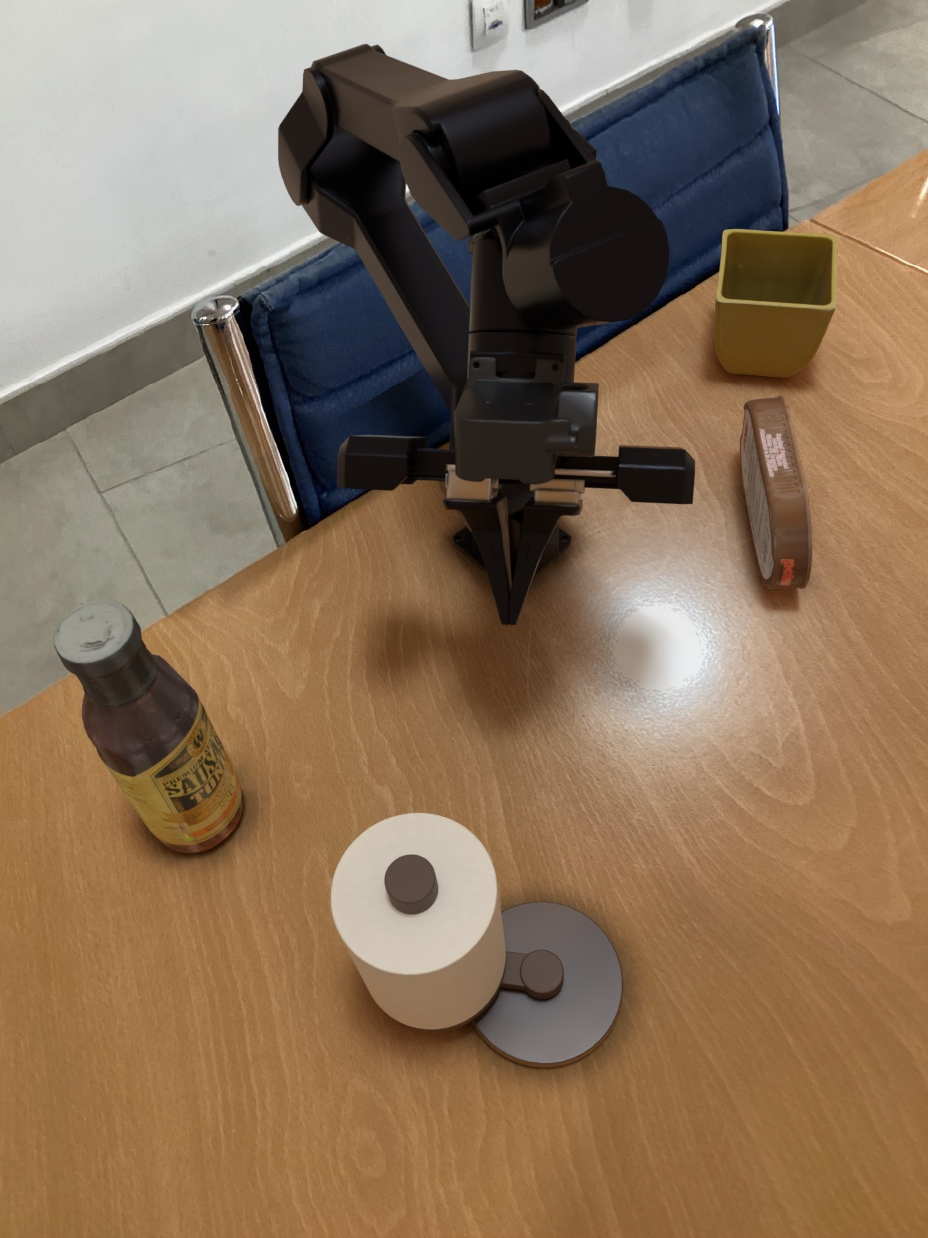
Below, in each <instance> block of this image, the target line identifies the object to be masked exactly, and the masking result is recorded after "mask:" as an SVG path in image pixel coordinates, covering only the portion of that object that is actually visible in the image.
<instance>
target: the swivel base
mask: <svg viewBox="0 0 928 1238" xmlns="http://www.w3.org/2000/svg"><path fill="white" fill-rule="evenodd" d="M501 916H502V924H503V932H504V939H505V947H506V951H508V952H516V953H523V954H529V953H531V952H533V951H536V950H547V951H550V952H552V953H554V954H555V955H556V956H557V957H558V958H559V959H560V960H561V962H562V965H563V969H564V981H563V985H562V987H561V989H560V990H559V992H558V993H557V994H556V995H554V996H553V997H550V998H547V999H538V998H535V997H533V996H531V995H530V994H528V993H527V992H526V991H525V990H519V989H511V988H504V987H500V989H499V991H498V992H497V994H496V996H495V998H494V999H493V1001H492V1002H491V1003H490V1005H489V1006H488V1007H487V1008H486V1009H485V1010H484V1011H483V1012H482V1013H481V1014H480V1015H479V1016H477V1017H476V1018H475V1019H473V1020H472V1021H471V1023H472V1025H473V1026H474V1028H475V1030H476V1032H477V1033H478V1034H479V1036H480V1037H481V1038H482V1040H483V1041H484V1042H485V1043H486V1044H487V1045H488V1046H489V1047H490V1048H491V1049H492V1050H494V1051H495V1052H496V1053H498V1054H499V1055H500V1056H502V1057H504V1058H506V1059H507V1060H509V1061H512V1062H514V1063H516V1064H519V1065H523V1066H527V1067H531V1068H539V1069H551V1068H559V1067H564V1066H568V1065H571V1064H573V1063H575V1062H578V1061H579V1060H582V1059H584V1058H585V1057H586V1056H588V1055H590V1054H592V1052H594V1051H595V1050H596V1049H597V1048H598V1047H599V1046H600V1045H601V1044H602V1043H603V1042H604V1041H605V1040H606V1039H607V1037H608V1035H609V1034H610V1033H611V1031H612V1030H613V1028H614V1026H615V1024H616V1022H617V1019H618V1016H619V1014H620V1013H619V1012H620V1010H621V1006H622V1001H623V994H624V977H623V976H624V975H623V969H622V963H621V960H620V958H619V955H618V952H617V950H616V948H615V946H614V944H613V942H612V940H611V939H610V937H609V936H608V934H607V933H606V931H604V929H603V928H602V927H601V926H600V925H599V924H598V923H597V922H595V920H594V919H592V918H591V917H589V916H588V915H587V914H585V913H584V912H582V911H580V910H578V909H576V908H574V907H572V906H569V905H566V904H563V903H559V902H554V901H545V900H542V901H539V900H538V901H529V902H523V903H519V904H515V905H513V906H511V907H509V908H506V909H504V910H503V911H502V910H501Z"/></svg>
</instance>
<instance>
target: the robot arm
mask: <svg viewBox="0 0 928 1238" xmlns="http://www.w3.org/2000/svg"><path fill="white" fill-rule="evenodd" d="M301 87H302V91H301V93H300V94H299V96H298V97H297V98H296V100H295V101H294V103H293V104H292V106H291V107H290V109H289V111H288V112H287V113H286V115H285V116H284V118H283V119H282V121H281V122H280V123H279V126H278V127H277V128H278V129H277V162H278V168H279V172H280V176H281V179H282V181H283V184H284V187H285V189H286V191H287V194H288V195H289V197H290V200H291V201H292V202H293V204H294V205H295V206H297V207H300V206H301V207H302V209H303V210H304V211H305V213H306V214H307V216H308V217H309V219H310V220H311V222H312V223H313V225H314V227H315V228H316V230H317V231H318V232H319V234H321V235H323V236H325V237H327V238H330V239H331V240H334V241H336V242H339V243H340V244H343V245H345V246H347V247H348V248H351V249H352V250H355V251H356V253H357V254H358V257H359V258H360V260H361V261H362V263H363V265H364V267H365V268H366V270H367V272H368V274H369V275H370V277H371V278H372V280H373V282H374V284H375V285H376V287H377V290H379V292H380V294H381V296H382V298H383V299H384V301H385V302H386V304H387V306H388V308H389V309H390V312H391V313H392V315H393V316H394V318H395V320H396V321H397V323H398V325H399V326H400V328H401V330H402V331H403V333H404V335H405V337H406V339H407V340H408V342H409V343H410V345H411V347H412V349H413V351H414V352H415V354H416V356H417V358H418V359H419V361H420V362H421V364H422V366H423V368H424V369H425V371H426V373H427V374H428V376H429V378H430V380H431V382H432V383H433V385H434V386H435V388H436V390H437V392H438V393H439V395H440V397H441V398H442V400H443V402H444V404H445V406H446V407H447V409H448V411H449V413H450V420H449V421H450V423H449V424H450V425H449V426H450V427H449V440H448V441H449V443H448V448H428V446H427V445H428V444H427V439H426V438H427V437H426V436H411V435H409V436H408V435H407V436H406V435H386V434H383V435H381V434H358V435H349V436H348V437H346V439H345V440H344V441H343V442H342V443H341V445H340V446H339V450H338V452H337V453H338V454H337V461H336V462H337V464H336V465H337V466H336V467H337V469H336V471H337V473H336V488H339V489H346V490H366V491H367V490H368V491H387V492H388V491H391V492H393V491H395V490H396V489H397V488H398V487H400V485H414V484H415V483H416V482H417V481H429V482H430V481H431V482H438V485H439V488H440V491H441V492H442V494H443V496H444V497H445V498H443V499H442V507H443V509H444V510H448V511H455V512H456V514H457V515H458V516H459V518H460V519H461V520H462V522H463V524H465V526H464V527H463V528H461V529H460V530H458V531H457V532H456V533H454V535H452V537H451V538H452V545H454V546H455V547H456V548H457V549H458V550H459V551H460V552H461V553H463V554H464V555H465V556H466V557H467V558H468V559H470V561H472V562H473V563H474V564H475V565H476V566H478V567H479V568H480V569H481V570H483V571H484V572H485V573H486V574H487V575H486V576H487V579H488V583H489V584H490V585H489V586H490V588H491V592H492V595H493V599H494V603H495V608H496V610H497V614H498V617H499V620H500V624H501V626H512V627H516V626H517V624H518V621H519V619H520V616H521V613H522V610H523V608H524V605H525V601H526V599H527V596H528V593H529V591H530V589H531V585H532V583H533V579H534V577H535V575H536V574H537V573H539V572H540V571H541V570H543V569H544V568H545V567H546V566H548V565H549V564H551V563H552V562H553V561H555V559H557V558H558V557H559V556H560V554H561V553H562V552H564V551H565V550H566V549H567V548H568V547H570V546H571V545H572V536H571V535H570V533H568V532H567V531H565V530H564V529H563V528H561V527H560V525H559V524H560V523H559V522H560V519H561V518H562V517H565V516H568V517H578V516H580V515H582V514H581V513H582V510H583V507H584V499H582V498H581V495H584V494H585V492H586V489H604V490H620V491H621V493H623V494H624V496H626V497H627V499H628V500H629V501H630V502H631V503H643V504H644V503H646V504H664V505H666V504H668V505H693V504H694V492H695V482H696V481H695V479H696V460H695V459H694V458H693V457H692V455H691V454H690V453H689V452H688V451H687V450H686V448H682V447H680V446H679V447H678V446H657V445H629V444H618V453H617V456H616V455H614V456H613V455H595V454H596V445H597V444H596V443H597V431H598V412H599V411H598V410H599V392H600V391H599V389H600V383H598V382H578V381H577V382H575V371H576V354H577V353H576V352H577V334H578V329H579V328H585V327H586V328H587V327H592V326H599V325H605V324H612V323H617V322H623V321H628V320H630V319H633V318H635V317H637V316H639V315H640V314H641V313H642V312H644V311H645V310H646V309H648V308H649V307H650V306H651V304H653V302H654V301H655V300H656V298H657V297H658V296H659V294H660V293H661V290H662V288H663V286H664V284H665V282H666V278H667V275H668V271H669V268H670V244H669V239H668V233H667V230H666V228H665V225H664V223H663V221H662V219H659V217H658V216H657V215H656V213H655V211H654V210H653V209H652V207H651V206H650V205H649V204H647V202H646V201H645V200H644V199H642V198H641V197H640V196H639V195H637V194H635V193H633V192H632V191H630V190H628V189H624V188H620V187H616V186H609V183H608V180H607V175H606V174H607V173H606V172H605V169H604V168H603V164H602V162H601V161H600V160H599V159H597V154H598V153H597V152H598V151H597V149H596V148H595V147H594V146H593V145H592V144H591V143H590V142H589V141H588V140H586V138H585V137H584V136H583V135H582V134H580V133H579V131H577V130H576V128H575V127H574V126H572V124H571V123H570V121H569V119H567V118H566V117H565V115H564V114H563V113H562V112H561V110H560V109H559V107H558V106H557V105H556V103H555V102H554V101H553V100H552V98H551V97H550V96H549V94H548V93H547V92H546V91H544V89H541V87H540V85H539V84H538V83H537V81H536V80H535V79H534V78H533V77H531V76H530V75H529V74H527V73H526V72H525V71H523V70H521V69H507V70H492V71H487V72H483V73H479V74H475V75H470V76H465V77H461V78H454V79H450V78H446V77H444V76H441V75H438V74H436V73H433V72H430V71H428V70H426V69H424V68H420V67H419V66H415V65H413V64H410V63H408V62H405V61H403V60H401V59H397V58H395V57H392V56H390V55H387V54H386V52H385V50H384V49H383V47H382V46H380V44H374V45H370V44H368V43H362V44H359V45H356V46H354V47H351V48H348V49H345V50H342V51H339V52H336V53H332V54H330V55H327V56H324V57H322V58H319V59H315V60H313V61H312V63H311V65H310V66H309V67H307V68H304V69H303V73H302V86H301ZM407 189H408V191H409V195H410V196H411V197H412V198H413V200H414V201H415V202H416V204H417V205H418V207H420V208H421V209H422V210H423V211H424V212H425V213H426V214H427V215H428V216H429V217H430V218H432V219H433V220H434V221H435V222H436V223H437V224H438V225H439V226H440V227H441V228H442V229H443V230H444V231H445V232H446V233H447V234H448V235H449V236H450V237H452V239H454V240H455V241H456V242H459V241H462V240H465V239H469V240H468V242H467V251H468V253H469V254H471V269H470V270H471V272H470V296H469V297H470V298H469V302H468V300H467V299H466V298H465V296H464V295H463V293H462V291H461V289H460V288H459V286H458V285H457V283H456V282H455V280H454V278H453V276H452V275H451V273H450V272H449V270H448V268H447V267H446V265H445V263H444V261H443V260H442V259H441V256H440V255H439V253H438V252H437V251H436V249H435V247H434V245H433V244H432V242H431V240H430V239H429V237H428V235H427V234H426V231H424V229H423V227H422V225H421V224H420V222H419V220H418V218H417V217H416V216H415V213H414V212H413V210H412V209H411V208H410V206H409V204H408V202H407V199H406V198H407V197H406V194H407ZM348 238H349V239H348Z"/></svg>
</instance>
